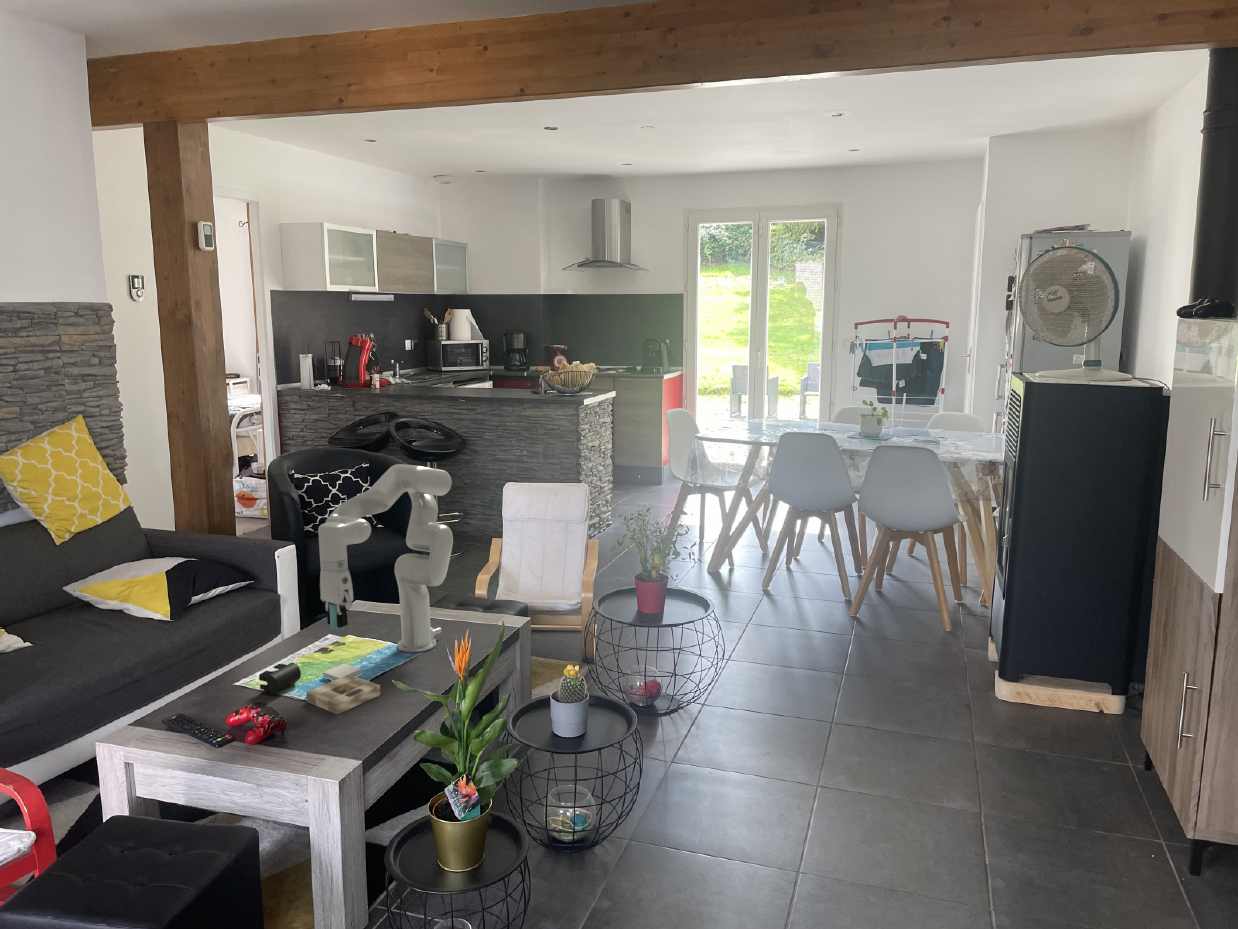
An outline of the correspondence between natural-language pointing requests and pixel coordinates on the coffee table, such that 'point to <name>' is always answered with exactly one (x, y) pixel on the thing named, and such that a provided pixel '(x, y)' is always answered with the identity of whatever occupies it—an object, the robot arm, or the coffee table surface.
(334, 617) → the teal peg
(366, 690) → the plate
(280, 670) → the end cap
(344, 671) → the light grey square slab
